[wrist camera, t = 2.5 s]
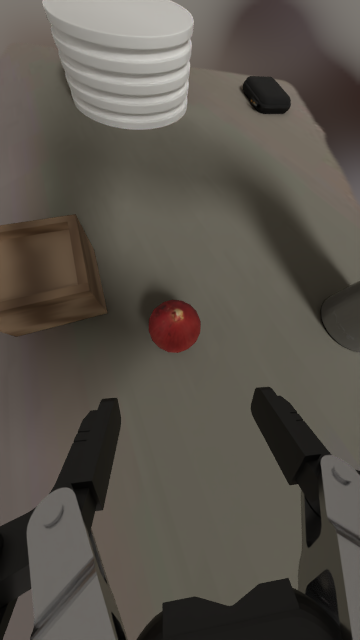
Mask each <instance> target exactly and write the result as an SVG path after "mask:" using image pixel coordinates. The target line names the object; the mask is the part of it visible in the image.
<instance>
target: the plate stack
mask: <svg viewBox="0 0 360 640" xmlns="http://www.w3.org/2000/svg"><path fill="white" fill-rule="evenodd" d="M42 4H43V7H44V10H45V13H46V16H47V19H48V20H49V22H50V23H51V24H52V25H51V32H52V35H53V38H54V41H55V44H56V46H57V48H58V49H59V51H58V53H59V57H60V60H61V63H62V66H63V68H64V70H65V76H66V79H67V82H68V85H69V87H70V89H71V95H72V98H73V101H74V103H75V105H76V107H77V108H78V109H79V110H80V111H81V112H82V113H83V114H84V115H86V116H87V117H89V118H91V119H93V120H95V121H97V122H99V123H102V124H105V125H108V126H112V127H117V128H123V129H134V130H144V129H154V128H160V127H164V126H167V125H170V124H172V123H174V122H176V121H177V120H179V119H180V118H181V117H182V116H183V115H184V114H185V112H186V109H187V95H188V86H189V82H188V78H189V74H190V62H189V59H190V57H191V48H192V43H191V40H190V38H191V37H192V34H193V24H194V20H193V17H192V15H191V14H190V13H189V11H187V10H186V9H185V8H184V7H182V6H180V5H179V4H177V3H175V2H173V1H170V0H42Z"/></svg>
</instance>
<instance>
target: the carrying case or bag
mask: <svg viewBox="0 0 360 640" xmlns="http://www.w3.org/2000/svg"><path fill="white" fill-rule="evenodd" d="M243 90H244V92H245V94H246V95H247V97H248V98H249V99H250V102H251V104H252V105H254V106H255V108H256V109H257V110H258V111H259V112H260V113H262V114H283V113H285V112H286V111H288V110H289V108H290V106H291V103H290V101H291V100H290V97H289V96H288V95H287V93H286V92H285V91H284V90H283V89H282V88H281V86H280V85H279V84H278V83H277V82H276V81H275V80H274V79H273V78H272V77H259V76H250V77H248V78H247V79H246V80H245V81H244V84H243Z"/></svg>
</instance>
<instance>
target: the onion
mask: <svg viewBox="0 0 360 640" xmlns="http://www.w3.org/2000/svg"><path fill="white" fill-rule="evenodd" d="M149 333H150V335H151V338H152V340H153V342H154V343H155V344H156V345H157V346H158V347H159V348H161V349H163V350H165V351H167V352H175V353H179V352H181V351H184V350H187V349H188V348H190V347H191V346H192V345H193V344H194V343H195V342H196V340H197V338H198V336H199V334H200V319H199V317H198V314H197V312H196V310H195V309H194V308H193V307H192V306H191V305H189V304H187V303H185V302H183V301H179V300H170V301H166V302H163V303H162V304H160V305H159V306H158V307H156V308H155V309H154V310H153V312H152V314H151V316H150V318H149Z"/></svg>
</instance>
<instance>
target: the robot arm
mask: <svg viewBox="0 0 360 640" xmlns="http://www.w3.org/2000/svg"><path fill="white" fill-rule="evenodd" d="M321 316H322V321H323V324H324V326H325V328H326V330H327V331H328V332H329V334H330V335H331V336H332V337H333V338H334V339H335V340H336V341H337V342H338V343H339V344H341V345H342V346H344V347H346V348H348V349H349V350H353V351H356V352H360V281H358V282H356V283H355V284H353V285H351V286H349V287H347V288H345V289H343V290H341V291H339V292H338V293H336V294H334V295H332V296H330V297H329V298H327V299H326V300H325V301H324V303H323V305H322V309H321ZM251 412H252V415H253V417H254V419H255V421H256V423H257V425H258V427H259V429H260V431H261V433H262V434H263V436H264V438H265V440H266V442H267V444H268V446H269V448H270V450H271V451H272V453H273V455H274V457H275V459H276V461H277V463H278V465H279V467H280V468H281V470H282V472H283V474H284V476H285V478H286V480H287V482H288V483H289V485H295V484H299V486H300V488H301V490H302V491H301V523H302V552H301V557H300V561H299V569H298V590H296V589H294V588H292V586H291V584H290V581H289V578H286V579H281V580H276V581H271V582H266V583H261V584H258V585H257V586H256V587H255V588H254V589H252V590H251V591H250V592H249V593H248V594H246V595H245V596H244V597H243V598H241V599H240V600H239V601H238V602H237V603H235V604H234V605H233V606H226V605H223V604H219V603H216V602H212V601H209V600H206V599H202V598H199V597H190V598H185V599H180V600H175V601H170V602H165V603H163V611H162V612H160V613H159V614H158V615H156V616H155V617H154V618H153V619H152V620H151V621H150V622H149V623H148V624H147V626H146V627H145V628H144V630H143V631H142V632H141V634H140V635H139V637H138V638H137V640H360V471H358V470H355V469H354V468H353V467H352V466H350V465H349V464H348V463H347V462H345V461H344V460H342V459H340V458H338V457H336V456H332V455H331V454H330V452H329V451H328V450H327V449H326V448H325V446H324V445H323V444H322V443H321V441H320V440H319V439H318V438H317V436H316V435H315V434H314V433H313V431H312V430H311V429H310V428H309V426H308V425H307V424H306V423H305V421H303V419H302V418H301V416H300V415H299V414H297V411H296V410H295V409H294V408H293V406H292V405H291V404H290V403H289V402H288V401H287V400H285V399H284V398H283V397H281V396H277V395H276V393H275V392H274V391H273V389H272V388H270V387H260V388H256V389H255V392H254V395H253V399H252V403H251ZM120 426H121V415H120V409H119V404H118V399H117V398H108V399H102V400H101V402H100V405H99V407H98V410H93V411H90V412H89V413H88V415H87V416H86V417H85V418H84V419H83V421H82V423H81V425H80V428H79V430H78V434H77V435H76V437H75V439H74V443H73V444H72V446H71V449H70V451H69V453H68V456H67V458H66V460H65V463H64V465H63V467H62V470H61V472H60V474H59V477H58V479H57V481H56V483H55V485H54V487H53V489H52V490H51V492H50V493H49V495H47V496H46V497H45V498H44V499H43V500H42V501H41V502H40V503H39V505H38V506H37V507H36V508H34V509H33V510H31V511H30V512H28V513H26V514H25V515H23V516H20V517H18V518H16V519H14V520H12V521H10V522H8V523H6V524H4V525H2V526H0V640H3V637H4V634H5V631H6V629H7V626H8V623H9V620H10V618H11V615H12V612H13V609H14V607H15V604H16V601H17V598H18V597H19V596H20V595H22V594H23V593H25V592H26V591H28V590H30V589H32V600H33V611H34V629H33V632H32V634H31V638H30V640H128V639H127V636H126V632H125V629H124V626H123V623H122V620H121V617H120V614H119V611H118V608H117V605H116V602H115V599H114V596H113V593H112V591H111V588H110V585H109V582H108V579H107V576H106V573H105V570H104V567H103V564H102V561H101V557H100V554H99V551H98V548H97V545H96V542H95V538H94V535H93V532H92V529H91V526H92V522H93V518H94V514H95V511H99V510H103V508H104V503H105V498H106V493H107V489H108V484H109V479H110V474H111V470H112V465H113V460H114V455H115V451H116V446H117V441H118V436H119V432H120Z"/></svg>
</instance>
